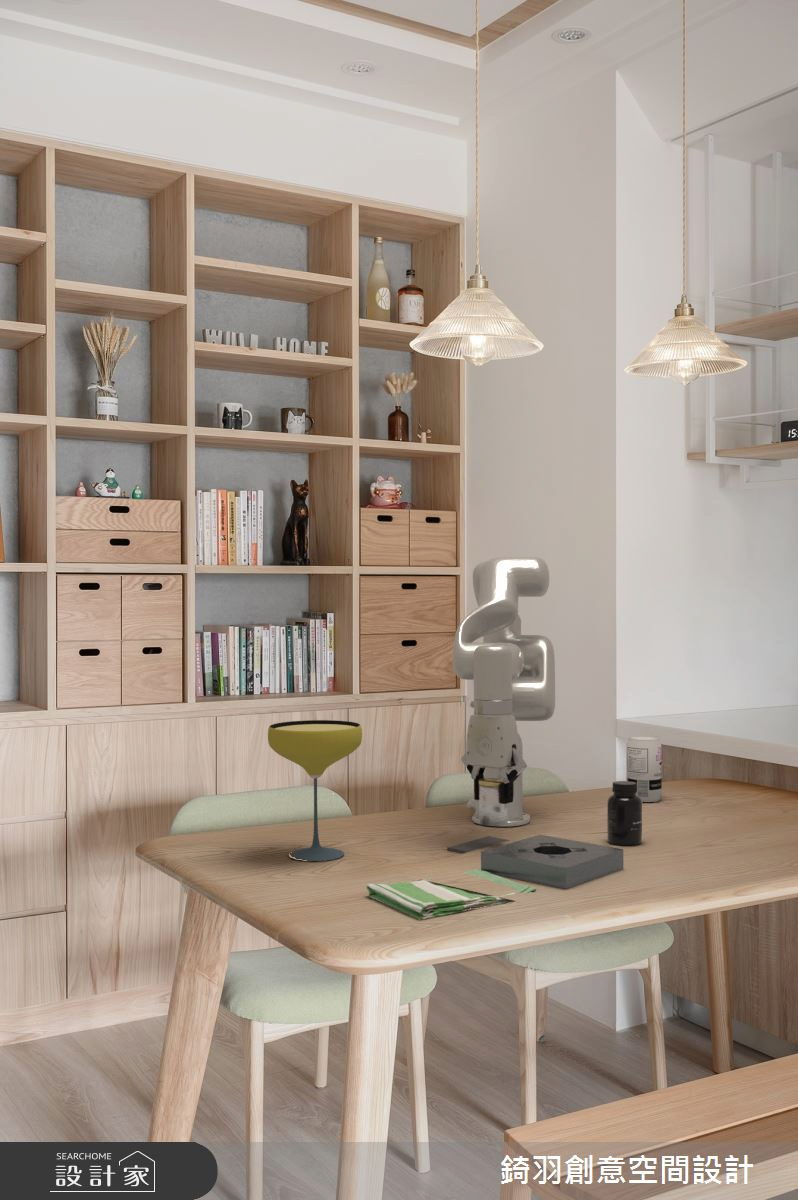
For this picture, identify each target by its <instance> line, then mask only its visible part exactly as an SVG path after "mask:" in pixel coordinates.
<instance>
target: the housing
mask: <svg viewBox="0 0 798 1200" xmlns="http://www.w3.org/2000/svg"><path fill="white" fill-rule="evenodd" d="M480 870H482V871H487V872H489V873H491V874H494V875H497V876H500V877H503V878H509V879H510V878H511V879H515V880H519V881H525V882H529V883H533V884H538V885H544V886H548V887H552V888H553V887H554V888H557V889H563V890H569V889H572V888H575V887H576V886H577V887H578V886H580V885H583V884H585V883H589V882H591V881H594V880H596V879H599V878H603V877H604V876H608V875H611V874H613V873H616V872H619V871H622V870H624V849H623V848H620V847H613V846H608V845H602V844H597V843H596V844H595V843H590V842H587V841H586V842H585V841H579V840H574V839H566V838H561V837H555V836H550V835H543V834H538V835H534V836H531V837H530V836H529V837H526V838H524V839H520V840H517V841H513V842H510V843H506V844H503V845H500V846H495V847H492V848H489V849H485V850H482V851H480Z"/></svg>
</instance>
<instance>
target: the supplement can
mask: <svg viewBox="0 0 798 1200" xmlns="http://www.w3.org/2000/svg"><path fill="white" fill-rule="evenodd" d="M625 744H626V745H625V746H626V748H625V749H626V750H625V753H626V757H625V758H626V761H625V762H626V766H625V767H626V769H625V770H626V772H625V773H626V781H629V782H635V783H637V793H636V795H637V796H638V797H639V798H640V799H641V801H642V802H654V803H657V802H656V801H658V802H660V800H661V799H662V798H663V793H662V792H663V791H662V790H663V787H662V786H663V782H662V780H663V777H662V776H663V774H662V773H663V772H662V770H663V769H662V765H663V764H662V761H663V760H662V754H663V753H662V750H663V749H662V748H663V747H662V743H661V740H660V738H659V737H657V736H651V735H633V736H629V737H628V739H627V741H626V743H625Z"/></svg>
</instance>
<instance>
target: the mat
mask: <svg viewBox="0 0 798 1200" xmlns="http://www.w3.org/2000/svg"><path fill="white" fill-rule="evenodd" d="M507 841H510V839H506V838H499V837H494V836H489V835H488V836H483V837H479V838H476V839H473V840H469V841H466V842H461V843H458V844H454V845H451V846H447V847H446V850H447V852H453V853H457V854H466V853H470V852H473V851H477V850H480V849H483V848H487V847H491V846H495V845H497V844H498V845H499V844H502V843H505V842H507Z"/></svg>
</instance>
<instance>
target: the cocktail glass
mask: <svg viewBox="0 0 798 1200" xmlns="http://www.w3.org/2000/svg"><path fill="white" fill-rule="evenodd" d="M267 741H268V745H269V747H270V748H271V749H272V751H274V752H275V753H276V754H277V755H279V756H281V757H282V758H284V759H286V760H289V761H291V762H292V763H295V764H296V765H299V766H300V767H301V768H302V769H304V771H305V772H306V774H308V776H309V777H310V778H311V779H313V835H312V843H311V846H310V847H303V848H299V849H298V850H297V849H294V850H295V851H294V850H292V851H293V852H292V853H290V852H289V853H290V855H291V856H292V857H295V858H296V859H302V860H307V861H324V862H326V861H325V860H331V861H333V860H332V859H336V860H338V859H337V858H339V859H341V858H343V857H344V856H343V855H345V852H344V851H343V850H341V849H338V848H333V847H324V846H321V845H320V838H319V827H318V826H319V825H318V823H319V822H318V819H319V818H318V779H319V778H321V777H322V776H323V774H324V772H326V770H327V769H328V768H329V767H330V766H332V765H333V764H335V763H337V762H338V761H340V760H343V759H344V758H346V757H348V756H349V755H351V754H352V753H354V752H355V751H356V750H357V749H358V748H359V747H360V745H361V744H362V741H363V729H362V725H361V724H360V723H358V722H355V721H346V720H335V719H334V720H333V719H332V720H330V719H329V720H328V719H327V720H326V719H319V720H318V719H313V720H293V721H283V722H277V723H276V722H275V723H273V724H270V725H269V726H268V730H267ZM342 856H343V857H342ZM340 857H341V858H340Z"/></svg>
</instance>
